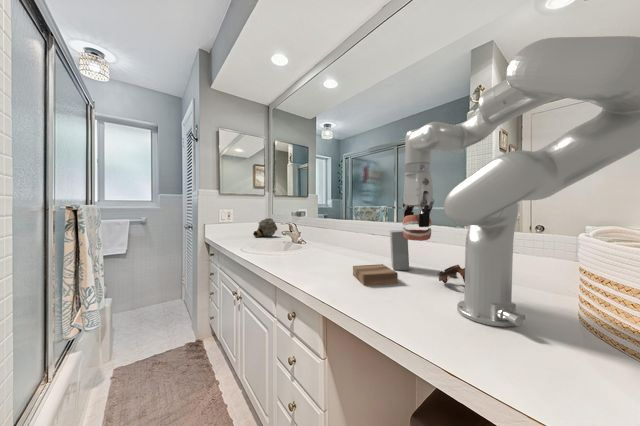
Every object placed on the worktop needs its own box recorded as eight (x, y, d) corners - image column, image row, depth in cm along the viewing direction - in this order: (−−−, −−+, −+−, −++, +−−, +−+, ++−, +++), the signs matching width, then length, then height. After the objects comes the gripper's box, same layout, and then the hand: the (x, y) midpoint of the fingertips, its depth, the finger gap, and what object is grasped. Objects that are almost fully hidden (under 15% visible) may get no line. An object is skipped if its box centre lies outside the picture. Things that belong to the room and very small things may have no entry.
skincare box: (409, 271, 99) (409, 231, 99) (391, 270, 101) (391, 231, 100) (406, 265, 108) (406, 229, 107) (389, 265, 109) (389, 229, 108)
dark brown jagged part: (464, 297, 74) (448, 271, 76) (442, 300, 82) (429, 276, 84) (489, 281, 78) (474, 257, 80) (466, 285, 86) (453, 263, 89)
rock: (274, 215, 205) (259, 212, 194) (280, 228, 198) (265, 227, 187) (262, 229, 213) (247, 227, 202) (268, 242, 206) (252, 241, 194)
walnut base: (397, 284, 85) (397, 272, 85) (363, 286, 83) (363, 275, 83) (382, 274, 97) (382, 264, 96) (353, 276, 95) (352, 265, 94)
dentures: (402, 240, 77) (403, 214, 77) (402, 237, 84) (402, 213, 83) (433, 241, 74) (434, 215, 74) (430, 238, 81) (431, 213, 81)
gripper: (446, 167, 70) (444, 228, 72) (413, 173, 88) (412, 222, 89) (421, 166, 69) (420, 229, 70) (393, 172, 86) (392, 222, 88)
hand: (415, 225), depth 80 cm, fingers closed on dentures, 8 cm apart
